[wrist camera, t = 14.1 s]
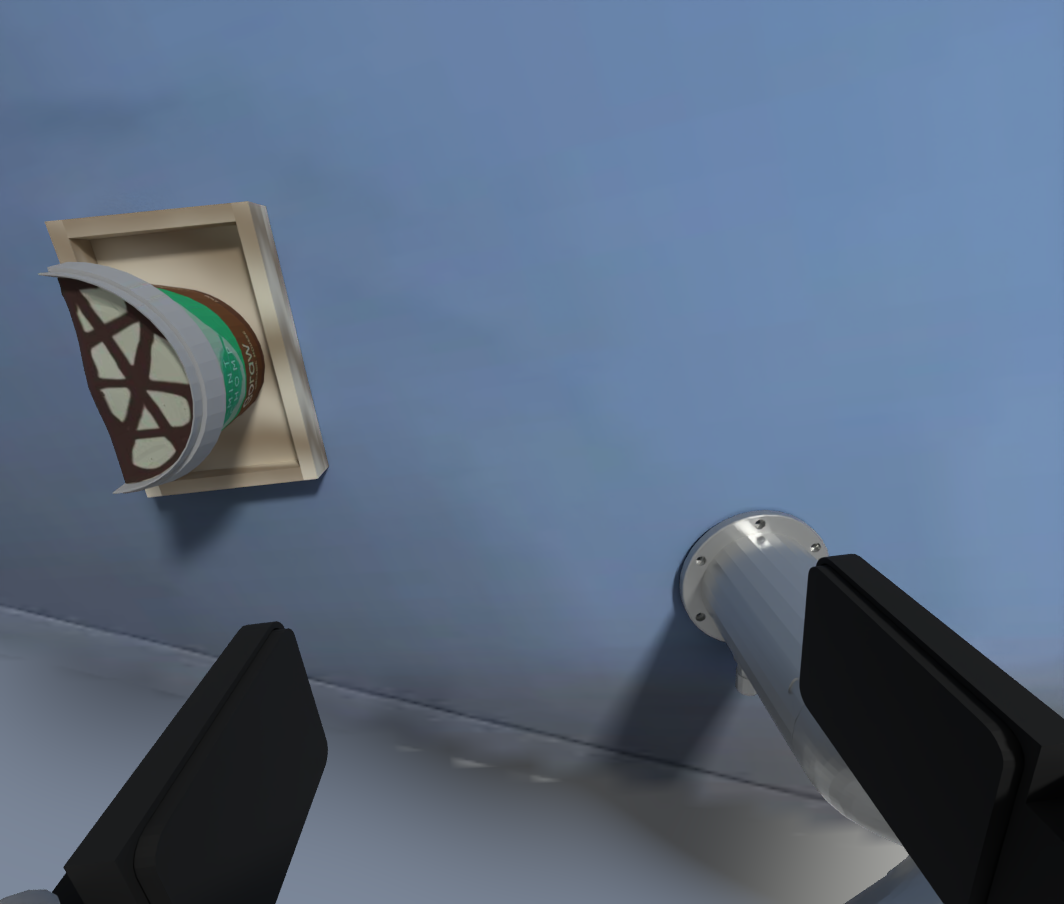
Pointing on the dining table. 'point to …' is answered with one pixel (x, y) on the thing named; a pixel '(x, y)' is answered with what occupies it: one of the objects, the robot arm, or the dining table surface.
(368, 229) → the dining table surface
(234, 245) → the holder tray
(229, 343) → the food container
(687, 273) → the dining table surface
